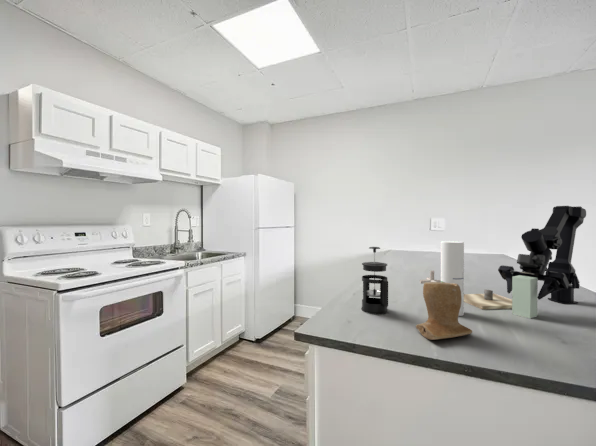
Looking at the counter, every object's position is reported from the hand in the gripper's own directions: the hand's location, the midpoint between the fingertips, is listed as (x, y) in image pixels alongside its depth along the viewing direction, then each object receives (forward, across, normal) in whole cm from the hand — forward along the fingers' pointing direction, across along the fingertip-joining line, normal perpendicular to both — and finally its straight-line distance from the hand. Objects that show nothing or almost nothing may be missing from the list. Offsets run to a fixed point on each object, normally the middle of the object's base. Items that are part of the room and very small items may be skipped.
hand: (522, 295), depth 96 cm
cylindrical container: (+17, -14, -7) cm, 23 cm away
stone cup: (+32, -4, -22) cm, 39 cm away
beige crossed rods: (+5, -34, +5) cm, 35 cm away
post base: (0, -14, +10) cm, 17 cm away
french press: (+33, -29, -23) cm, 49 cm away
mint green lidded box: (+4, 0, +6) cm, 7 cm away
